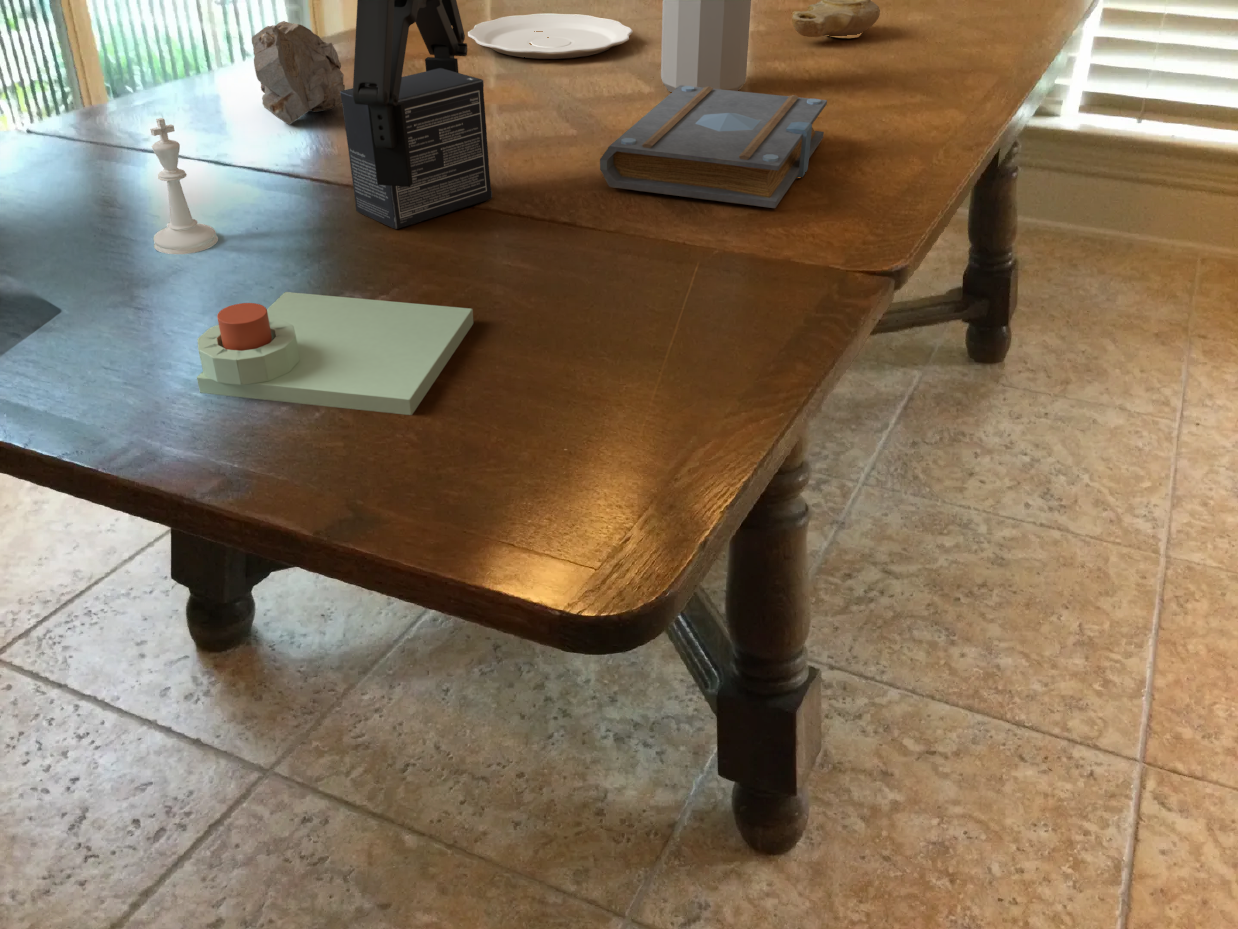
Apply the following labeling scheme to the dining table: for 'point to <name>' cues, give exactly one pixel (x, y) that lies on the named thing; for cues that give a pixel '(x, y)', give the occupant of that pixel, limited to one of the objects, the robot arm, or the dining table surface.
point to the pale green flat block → (339, 353)
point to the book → (717, 146)
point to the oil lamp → (836, 18)
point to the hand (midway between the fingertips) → (422, 157)
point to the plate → (550, 35)
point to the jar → (705, 43)
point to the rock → (296, 71)
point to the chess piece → (177, 202)
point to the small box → (425, 150)
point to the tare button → (244, 326)
